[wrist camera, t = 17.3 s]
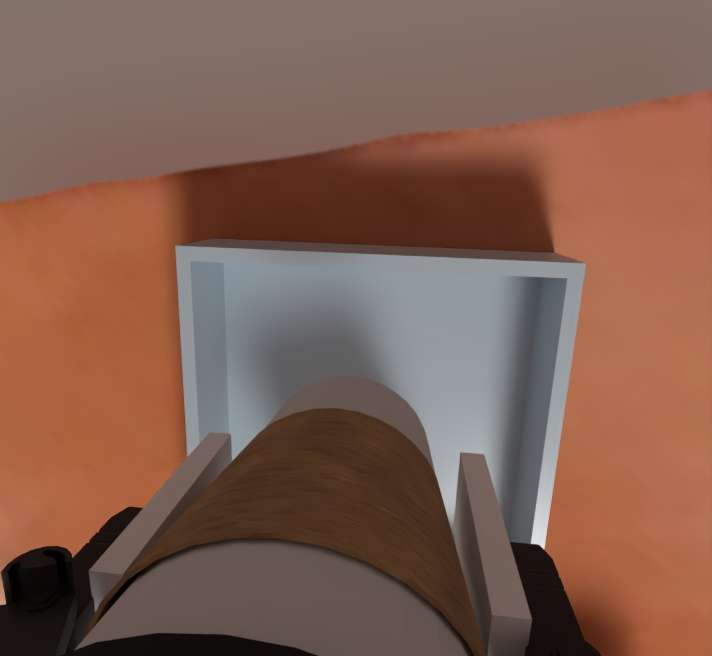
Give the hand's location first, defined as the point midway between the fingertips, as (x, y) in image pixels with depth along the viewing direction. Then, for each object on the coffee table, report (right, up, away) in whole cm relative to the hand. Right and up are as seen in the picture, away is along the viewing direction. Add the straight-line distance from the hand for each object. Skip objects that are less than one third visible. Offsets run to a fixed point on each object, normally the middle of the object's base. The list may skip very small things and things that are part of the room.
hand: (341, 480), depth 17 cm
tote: (+2, -1, +18) cm, 18 cm away
